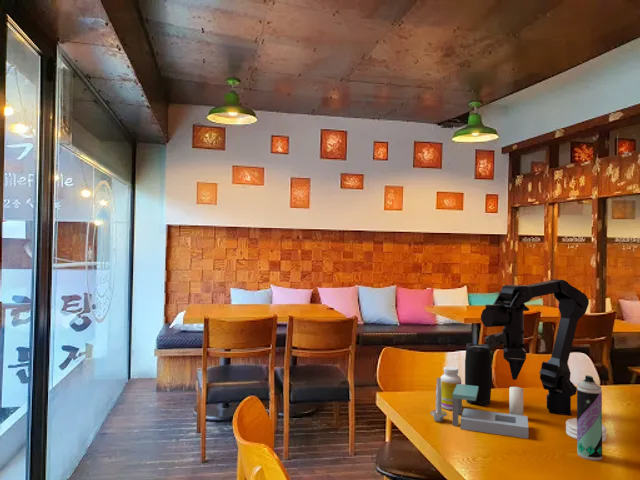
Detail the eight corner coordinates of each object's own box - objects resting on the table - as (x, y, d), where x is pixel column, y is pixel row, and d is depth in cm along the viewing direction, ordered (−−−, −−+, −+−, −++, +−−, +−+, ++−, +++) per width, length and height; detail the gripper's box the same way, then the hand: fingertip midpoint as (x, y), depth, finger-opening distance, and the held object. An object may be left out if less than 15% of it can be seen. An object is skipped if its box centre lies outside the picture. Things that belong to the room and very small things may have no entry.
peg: (523, 416, 149) (523, 387, 149) (523, 420, 145) (523, 390, 145) (509, 414, 150) (509, 386, 151) (509, 418, 147) (509, 389, 147)
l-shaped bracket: (478, 415, 149) (478, 386, 149) (475, 428, 138) (475, 396, 138) (457, 412, 152) (457, 383, 152) (452, 425, 141) (452, 394, 141)
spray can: (572, 451, 123) (572, 373, 123) (592, 451, 123) (592, 373, 124) (586, 460, 117) (585, 379, 118) (607, 460, 118) (606, 378, 118)
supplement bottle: (462, 411, 153) (462, 371, 154) (441, 409, 155) (441, 370, 155) (460, 404, 160) (460, 366, 160) (440, 403, 161) (440, 365, 161)
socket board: (527, 426, 140) (527, 416, 140) (528, 438, 131) (528, 427, 131) (463, 418, 147) (463, 408, 147) (460, 429, 138) (460, 418, 138)
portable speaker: (490, 399, 166) (490, 343, 166) (492, 408, 157) (492, 348, 157) (464, 397, 168) (465, 341, 169) (464, 405, 159) (465, 346, 160)
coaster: (601, 432, 137) (601, 420, 137) (610, 445, 127) (610, 432, 127) (563, 428, 140) (563, 416, 140) (568, 440, 131) (568, 427, 131)
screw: (432, 416, 148) (447, 418, 146) (428, 421, 144) (445, 423, 142) (432, 374, 149) (448, 376, 146) (429, 378, 144) (445, 380, 142)
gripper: (486, 320, 160) (487, 366, 159) (485, 328, 142) (485, 380, 142) (522, 322, 156) (523, 369, 156) (526, 330, 139) (526, 384, 138)
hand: (513, 375), depth 148 cm, fingers open, 9 cm apart
